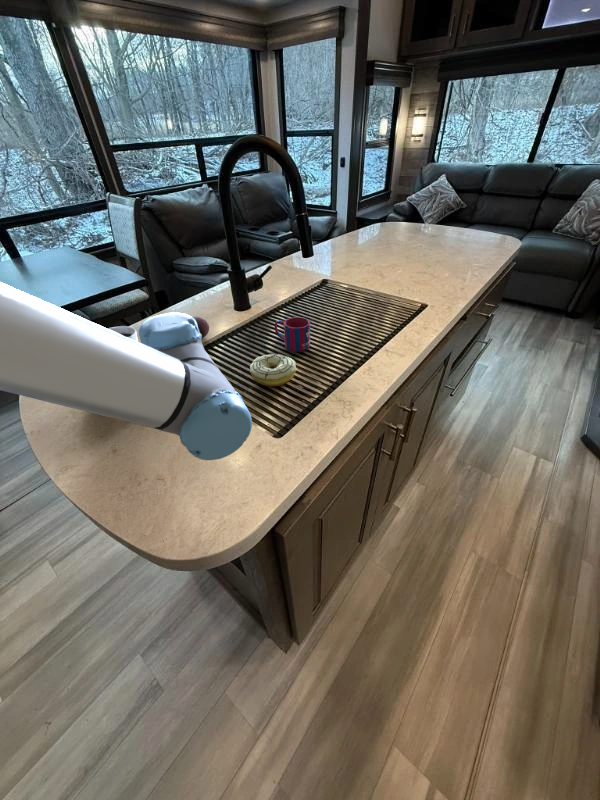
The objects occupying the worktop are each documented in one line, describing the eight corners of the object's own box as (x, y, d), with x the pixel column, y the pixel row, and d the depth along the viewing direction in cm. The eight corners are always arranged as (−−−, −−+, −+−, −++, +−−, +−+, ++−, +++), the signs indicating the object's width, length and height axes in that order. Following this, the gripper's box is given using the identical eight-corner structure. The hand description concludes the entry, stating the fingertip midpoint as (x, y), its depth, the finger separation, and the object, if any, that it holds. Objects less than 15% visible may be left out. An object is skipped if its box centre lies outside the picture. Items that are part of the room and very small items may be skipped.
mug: (301, 354, 85) (300, 330, 81) (270, 344, 90) (268, 321, 86) (314, 344, 90) (314, 320, 86) (284, 334, 94) (283, 312, 90)
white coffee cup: (106, 379, 70) (90, 336, 64) (129, 365, 75) (117, 323, 69) (131, 387, 68) (118, 343, 62) (153, 371, 73) (143, 329, 68)
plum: (176, 339, 93) (171, 319, 89) (201, 329, 98) (197, 309, 94) (190, 348, 89) (185, 327, 85) (216, 337, 94) (212, 317, 90)
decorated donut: (282, 359, 84) (281, 346, 81) (304, 380, 76) (304, 366, 74) (244, 371, 80) (242, 358, 77) (263, 394, 72) (262, 380, 70)
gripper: (127, 423, 56) (83, 369, 70) (207, 385, 65) (155, 343, 78) (110, 388, 51) (67, 337, 65) (200, 351, 60) (145, 313, 73)
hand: (115, 340), depth 71 cm, fingers closed on white coffee cup, 3 cm apart
